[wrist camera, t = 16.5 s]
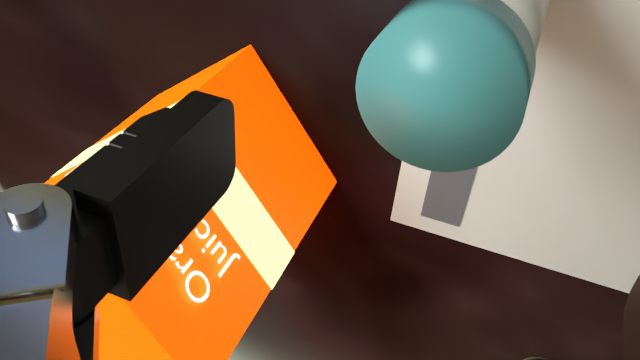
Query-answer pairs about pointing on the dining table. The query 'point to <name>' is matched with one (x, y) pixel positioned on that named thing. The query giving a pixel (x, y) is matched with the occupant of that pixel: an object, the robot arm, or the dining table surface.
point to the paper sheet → (556, 158)
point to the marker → (451, 80)
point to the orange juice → (223, 226)
